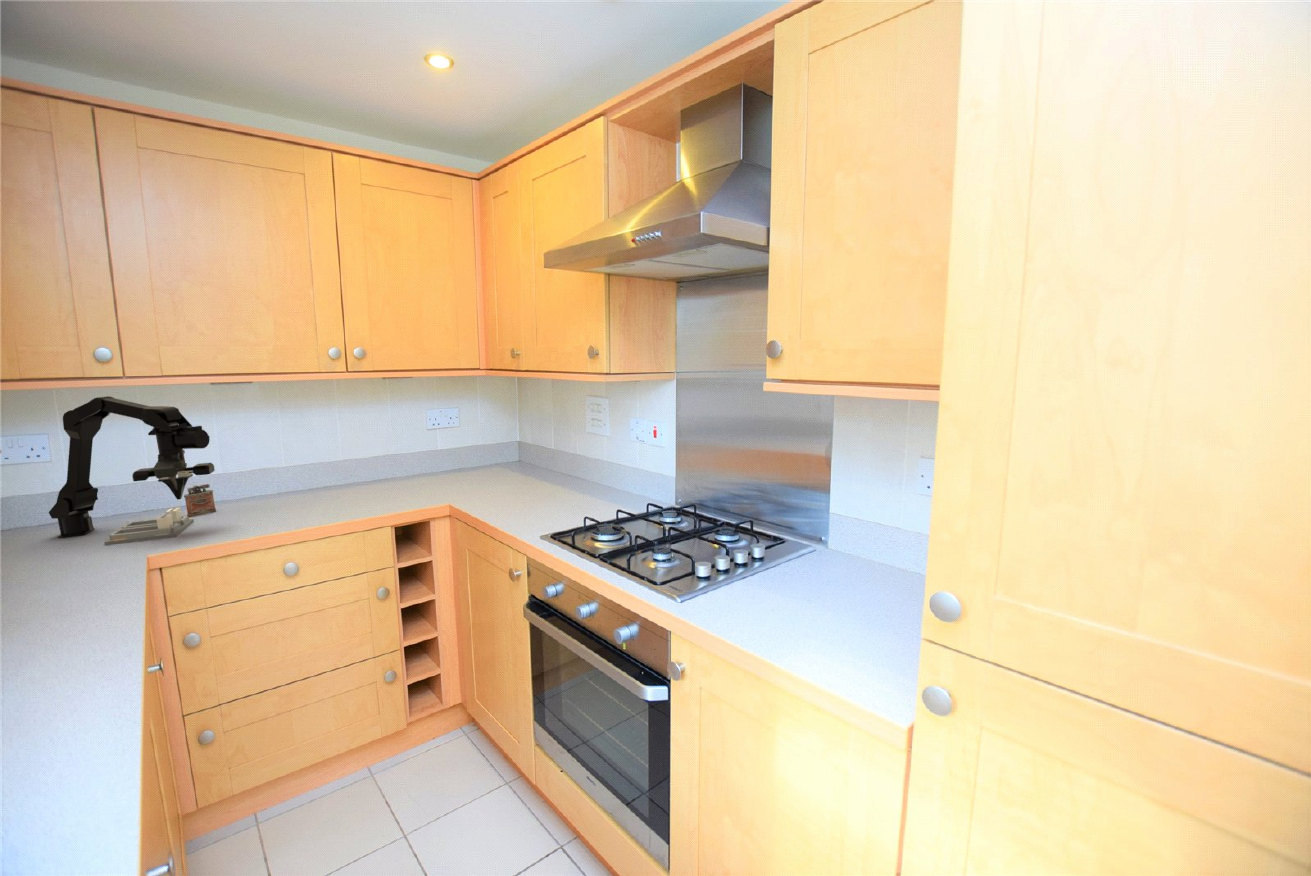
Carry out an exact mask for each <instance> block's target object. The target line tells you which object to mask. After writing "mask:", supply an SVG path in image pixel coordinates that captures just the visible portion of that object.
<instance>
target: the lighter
mask: <svg viewBox="0 0 1311 876" xmlns="http://www.w3.org/2000/svg"><path fill="white" fill-rule="evenodd" d="M210 488H211V485H210V483H205V484H204V483H203V484H201V485H197V484H196V485H193V486H191V487H187V488H186V489H187V492H188V493H186V494H183V498H184V501H185V505H186V512H187V513H186V516H188V518H193V517H198V516H199V517H200V516H203V515H207V514H208V513H209V514H213V513H216V512H217V509H216V505H215V498H214V490H213V489H210Z"/></svg>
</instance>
